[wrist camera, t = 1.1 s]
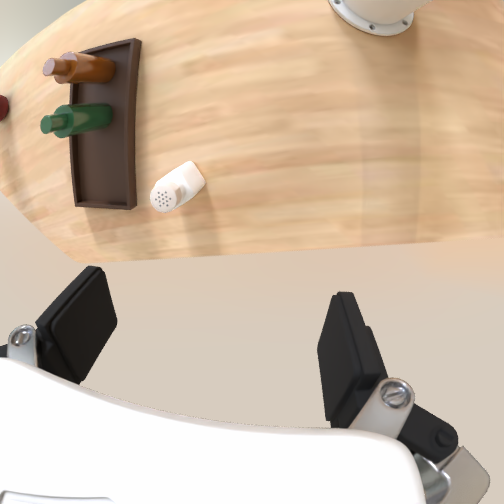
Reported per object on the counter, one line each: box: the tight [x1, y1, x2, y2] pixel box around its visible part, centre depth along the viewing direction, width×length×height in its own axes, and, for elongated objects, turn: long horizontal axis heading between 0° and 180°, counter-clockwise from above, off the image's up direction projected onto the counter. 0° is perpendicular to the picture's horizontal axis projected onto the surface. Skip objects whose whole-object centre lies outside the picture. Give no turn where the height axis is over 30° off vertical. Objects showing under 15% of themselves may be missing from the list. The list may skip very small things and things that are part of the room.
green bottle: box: [40, 102, 113, 138], centre depth 26 cm, size 4×4×12 cm
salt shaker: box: [150, 161, 206, 213], centre depth 32 cm, size 4×4×10 cm
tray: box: [69, 38, 141, 210], centre depth 32 cm, size 25×11×2 cm, turn 175°
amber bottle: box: [43, 52, 116, 85], centre depth 23 cm, size 4×4×12 cm
